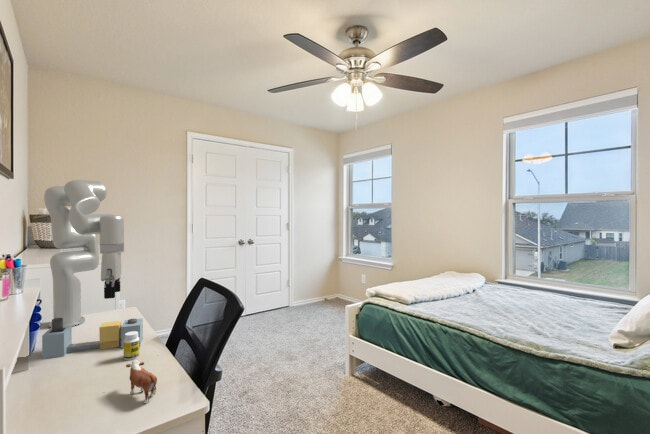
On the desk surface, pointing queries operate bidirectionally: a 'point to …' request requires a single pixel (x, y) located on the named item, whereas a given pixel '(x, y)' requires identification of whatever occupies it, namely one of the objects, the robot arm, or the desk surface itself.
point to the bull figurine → (142, 379)
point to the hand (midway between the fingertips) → (112, 294)
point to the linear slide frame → (59, 341)
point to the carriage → (110, 334)
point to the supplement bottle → (131, 345)
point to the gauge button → (57, 324)
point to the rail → (85, 346)
